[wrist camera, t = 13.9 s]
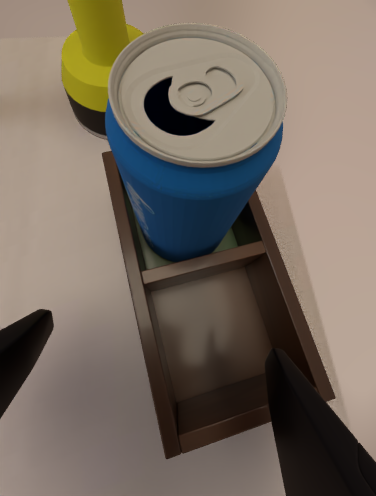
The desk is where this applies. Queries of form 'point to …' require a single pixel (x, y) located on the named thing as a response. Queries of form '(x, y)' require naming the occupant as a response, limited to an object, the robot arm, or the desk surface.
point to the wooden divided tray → (213, 325)
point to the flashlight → (93, 58)
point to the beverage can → (193, 131)
